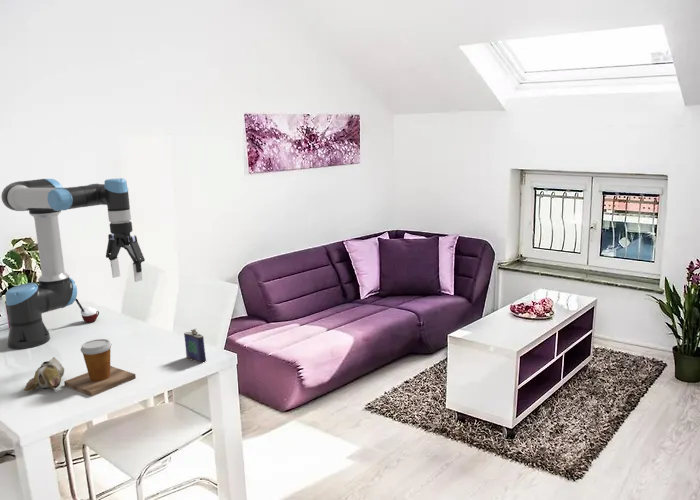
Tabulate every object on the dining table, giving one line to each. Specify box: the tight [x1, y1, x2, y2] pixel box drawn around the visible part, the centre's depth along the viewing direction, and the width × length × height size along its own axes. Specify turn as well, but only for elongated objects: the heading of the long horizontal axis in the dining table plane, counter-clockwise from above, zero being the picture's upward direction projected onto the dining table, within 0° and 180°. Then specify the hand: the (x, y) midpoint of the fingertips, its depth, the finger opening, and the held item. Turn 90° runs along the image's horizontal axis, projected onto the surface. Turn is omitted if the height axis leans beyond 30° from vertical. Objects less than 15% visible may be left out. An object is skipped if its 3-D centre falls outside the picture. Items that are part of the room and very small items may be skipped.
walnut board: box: [63, 365, 137, 397], centre depth 200 cm, size 16×16×2 cm
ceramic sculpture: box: [23, 356, 65, 392], centre depth 198 cm, size 11×9×15 cm
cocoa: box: [74, 298, 100, 324], centre depth 265 cm, size 10×6×12 cm
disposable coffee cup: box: [80, 338, 113, 381], centre depth 199 cm, size 10×10×12 cm
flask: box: [183, 328, 207, 364], centre depth 215 cm, size 10×3×12 cm, turn 50°
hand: (127, 278), depth 220 cm, fingers open, 13 cm apart
